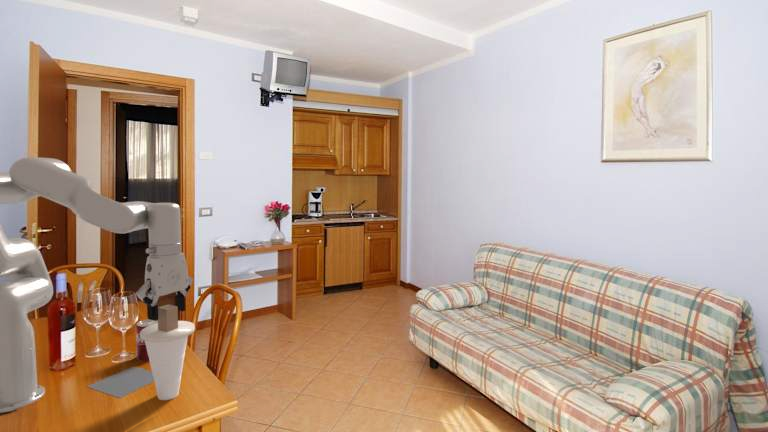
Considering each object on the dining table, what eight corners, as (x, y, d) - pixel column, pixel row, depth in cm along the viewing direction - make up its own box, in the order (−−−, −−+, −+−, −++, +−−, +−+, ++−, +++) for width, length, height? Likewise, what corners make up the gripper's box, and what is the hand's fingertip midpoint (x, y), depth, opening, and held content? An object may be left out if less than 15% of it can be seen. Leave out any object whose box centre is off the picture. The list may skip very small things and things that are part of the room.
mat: (119, 400, 112) (119, 398, 112) (86, 388, 118) (86, 386, 118) (165, 377, 125) (165, 375, 125) (133, 368, 130) (133, 366, 130)
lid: (164, 345, 104) (163, 318, 103) (128, 336, 109) (127, 310, 109) (205, 328, 116) (205, 303, 115) (171, 321, 121) (171, 297, 121)
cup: (183, 383, 122) (182, 323, 120) (195, 398, 114) (193, 334, 112) (142, 395, 115) (139, 331, 113) (151, 412, 107) (148, 344, 105)
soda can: (151, 364, 133) (149, 327, 132) (131, 361, 135) (130, 325, 134) (167, 354, 140) (166, 319, 139) (148, 352, 142) (147, 317, 141)
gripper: (144, 256, 101) (147, 327, 103) (202, 246, 117) (203, 307, 119) (123, 253, 104) (126, 322, 106) (182, 244, 120) (184, 304, 122)
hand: (167, 314), depth 112 cm, fingers open, 7 cm apart
